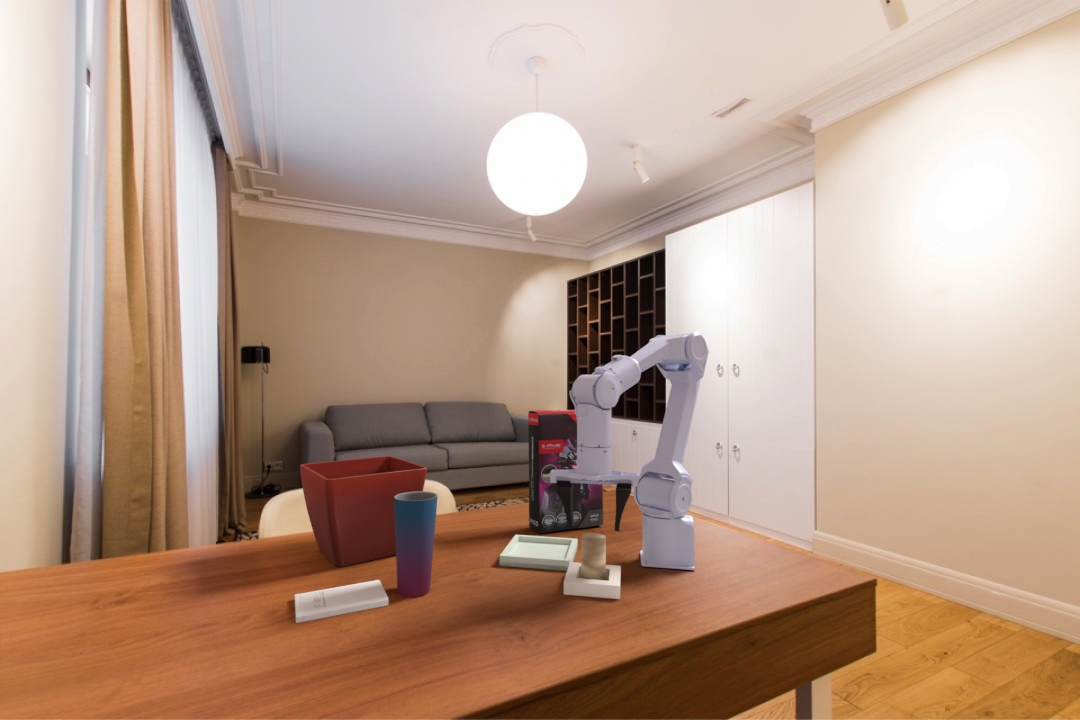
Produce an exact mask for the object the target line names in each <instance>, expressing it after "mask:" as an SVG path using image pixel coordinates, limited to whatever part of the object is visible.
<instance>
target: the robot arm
mask: <svg viewBox="0 0 1080 720" xmlns="http://www.w3.org/2000/svg"><path fill="white" fill-rule="evenodd" d="M708 356H709V348H708V345H707V342H706V339H705V338H704V336H703V334H702V333H700V332H698V331H692V332H691V333H677V334H675V333H674V334H667V335H666V334H665V335H664V334H658V335H656V336H655V337H653V338H650V339H649V341H648V343H647V344H646V345H644V346H643V347H641V348H640V349H638V350H637V351H636V352H635V353H633V354H632V355H630V356H628V355H622V354H615V355H613V356H612V357H611V358H610V359H611V361H610V362H608V363H606V364H605V365H602V366H597V367H595V368H594V371H593V372H592V373H591V374H580V375H579V376H578V377H576V379H575V380H574V381H573V384H572V387H571V390H569V397H570V400H571V402H572V403H573V406H574V410H575V414H576V417H577V469H571V470H551V471H550V483H557V486H556V490H557V493H558V495H559V497H560V499H561V502H562V504H563V507H564V510H565V513H566V518H567V523H568V528H572V527H573V523H574V516H573V486H574V483H584V484H603V485H605V486H606V485H608V486H609V485H611V486H616V487H615V516H614V517H615V519H614V520H615V521H614V532H620V526H621V525H620V524H621V521H622V515H623V512H624V510H625V507H626V504H627V503H628V500H629V499H630V495H631V493H633V498H634V501H635V503H636V505H637V506H639V511H640V513H641V512H642V549H640V551H639V554H640V555H639V556H640V565H641V566H642V567H647V568H648V567H649V568H657V569H659V568H661V569H673V570H674V569H675V570H676V569H677V570H687V571H688V570H689V571H695V570H696V567H695V556H696V552H695V551H696V549H695V526H694V525H695V523H694V519H693V516H692V515H690V514H687V512H689V510H690V508H691V506H692V502H693V493H692V488H693V487H692V485H693V481H694V480H693V477H692V476H691V475H690V474H689V472H688V471H687V470H686V469H685V468H684V466H683V462H684V459H685V454H686V449H687V445H688V439H689V436H690V431H691V427H692V422H693V417H694V414H695V413H694V412H695V407H696V404H697V399H698V394H699V389H700V385H701V379H703V378H704V375H705V370H706V366H707V361H708ZM655 365H656V367H657V369H658V370H659V372H660V373H661V374H662V376H663V378H664V379H666V380H668V381H669V382H670V383H671V387H670V391H669V395H668V399H667V403H666V407H665V412H664V416H663V420H662V421H663V422H662V426H661V429H660V433H659V437H658V443H657V447H656V450H655V454H654V458H653V459H652V460H650V461H649V462H647V463H646V464H644V465H643V466H642V467H641V470H640V473H638V472H629V471H628V472H627V471H616V470H612V408H615V407H616V406H617V403H618V402H619V399H620V397H621V395H622V394H623V393H624V392H625V391H627V390H629V389H630V388H632V387H633V386H635V385H636V384H638V382H639V381H640V379H641V375H642V373H643V372H645V371H646V370H648V369H650V368H652V367H653V366H655ZM582 479H584V480H582ZM599 480H602V481H599ZM632 487H633V491H632Z"/></svg>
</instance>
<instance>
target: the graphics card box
mask: <svg viewBox="0 0 1080 720" xmlns="http://www.w3.org/2000/svg"><path fill="white" fill-rule="evenodd" d="M527 417H528V422H527V423H528V518H529V519H528V525H529V528H530V529H532V530H533V531H535V532H537V533H539V534H545V533H546V534H547V533H552V532H560V531H568V530H574V529H576V530H577V529H582V528H583V529H584V528H591V527H598V526H603V525H604V493H603V492H604V491H603V490H604V489H603V488H604V487H603V486H604V484H584V483H574V486H573V516H574V523H573V527H572V528H568V523H567V518H566V513H565V510H564V507H563V504H562V502H561V499H560V497H559V495H558V493H557V490H556V486H557V483H550V471H551V470H571V469H577V417H576V414H575V409H557V410H556V409H554V410H553V409H551V410H548V409H546V410H541V409H540V410H528V416H527ZM582 480H584V479H582ZM599 481H603V480H599Z"/></svg>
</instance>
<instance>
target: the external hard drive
mask: <svg viewBox="0 0 1080 720" xmlns="http://www.w3.org/2000/svg"><path fill="white" fill-rule="evenodd" d="M293 600H294V610H295V611H294V612H295V613H294V615H295V623H296V624H297V623H298V624H299V623H303V622H308V621H315V620H319V619H324V618H330V617H336V616H340V615H345V614H351V613H356V612H360V611H366V610H371V609H375V608H381V607H386V606H389V603H390V601H389V596H388V594H387V592H386V590H385V587H384V586H383V583H382V582H381V580H380V579H375V580H369V581H364V582H357V583H354V584H346V585H341V586H336V587H331V588H325V589H317V590H312V591H307V592H301V593H296V594H294V598H293Z"/></svg>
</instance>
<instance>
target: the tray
mask: <svg viewBox="0 0 1080 720" xmlns="http://www.w3.org/2000/svg"><path fill="white" fill-rule="evenodd" d="M578 540H579V539H578V538H571V537H559V536H557V537H556V536H541V535H528V534H527V535H526V534H514V536H513V537H512V538H511V540H510V541H509V543H508V544H507V545H506V547H504V549H503V551H502V552H501V553H500V554H499V561H498V562H499V567H511V568H512V567H513V568H523V569H524V568H525V569H526V568H527V569H537V570H538V569H539V570H550V571H552V570H553V571H561V572H562V571H564V572H567V570H568V567H569V564H570V562H575V561H574V560H575V557H576V554H577V551H578V545H579V544H578Z"/></svg>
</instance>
